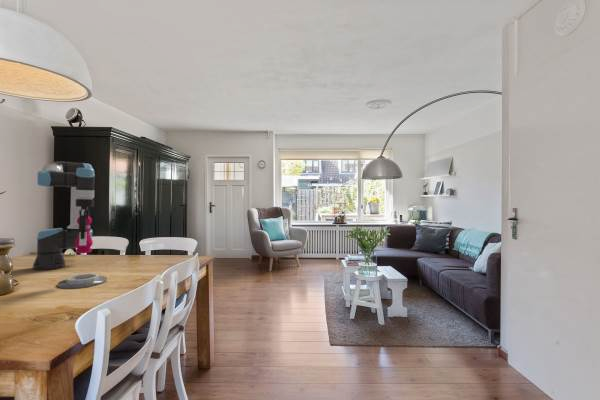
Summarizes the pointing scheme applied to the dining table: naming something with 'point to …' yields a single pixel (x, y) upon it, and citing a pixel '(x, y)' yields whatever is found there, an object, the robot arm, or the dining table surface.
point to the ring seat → (82, 281)
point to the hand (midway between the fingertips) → (84, 244)
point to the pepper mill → (89, 241)
